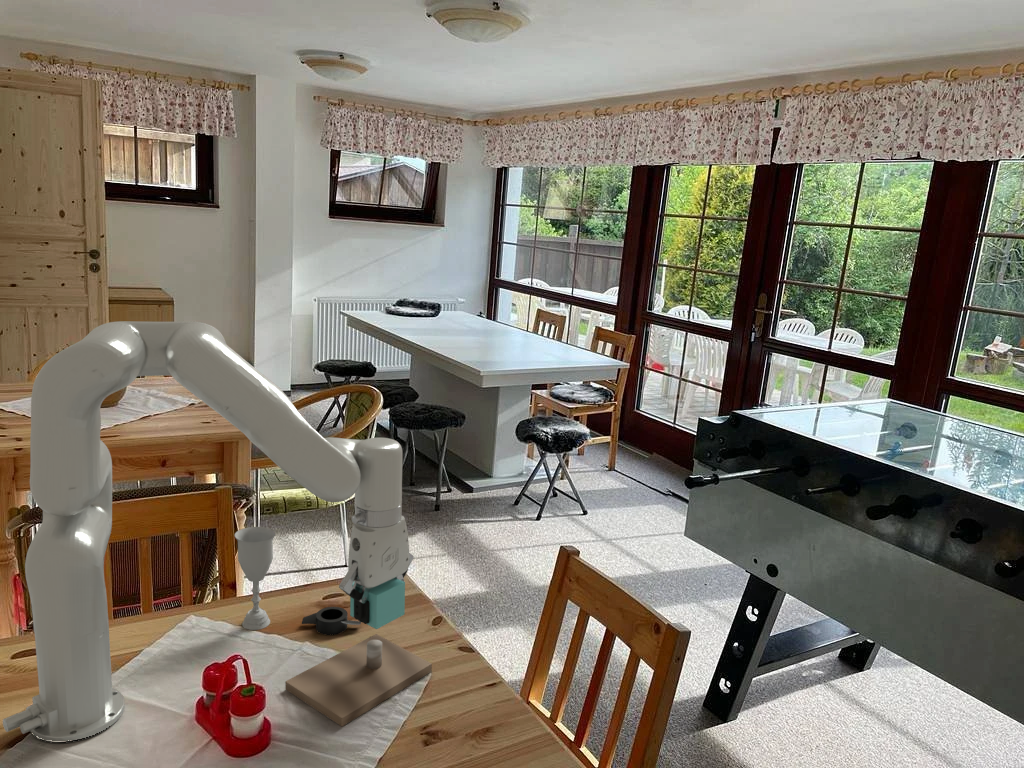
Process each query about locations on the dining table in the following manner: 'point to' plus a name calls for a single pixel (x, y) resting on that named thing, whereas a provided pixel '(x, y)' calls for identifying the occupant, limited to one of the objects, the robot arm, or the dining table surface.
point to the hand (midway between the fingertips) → (377, 611)
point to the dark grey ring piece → (330, 620)
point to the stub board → (358, 679)
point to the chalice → (255, 568)
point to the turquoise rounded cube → (384, 602)
